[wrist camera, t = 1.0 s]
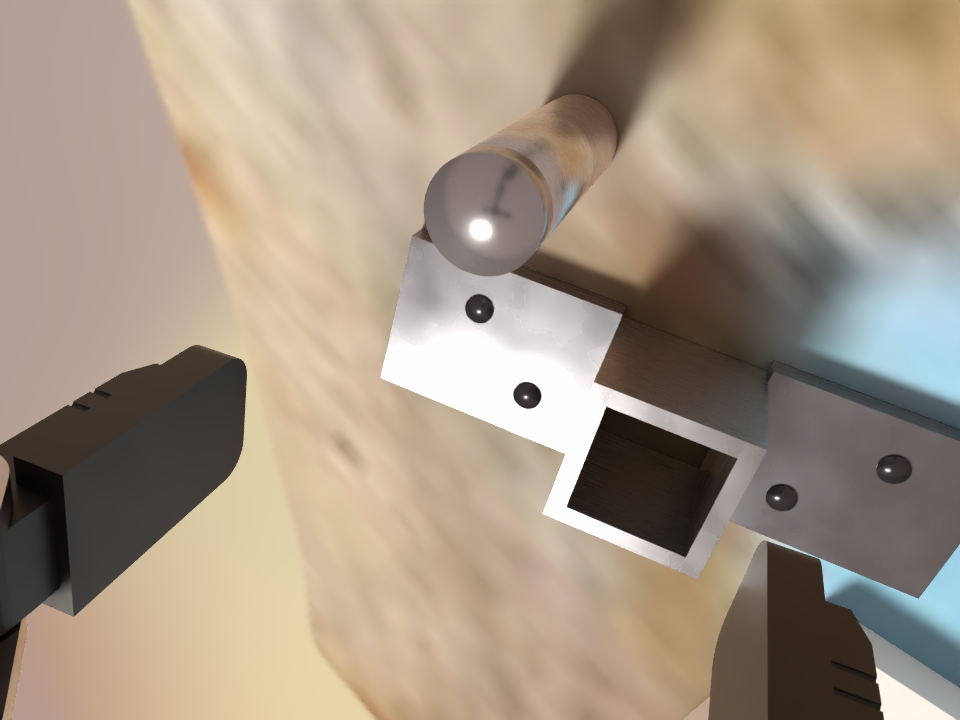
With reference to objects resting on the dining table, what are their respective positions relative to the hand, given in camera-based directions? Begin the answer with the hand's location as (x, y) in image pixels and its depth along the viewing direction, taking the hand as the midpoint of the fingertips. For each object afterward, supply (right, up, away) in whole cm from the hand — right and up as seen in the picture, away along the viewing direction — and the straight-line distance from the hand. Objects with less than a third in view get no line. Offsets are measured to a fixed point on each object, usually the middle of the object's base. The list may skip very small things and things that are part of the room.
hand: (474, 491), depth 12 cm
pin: (+4, +10, +18) cm, 21 cm away
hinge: (+8, 0, +21) cm, 23 cm away
